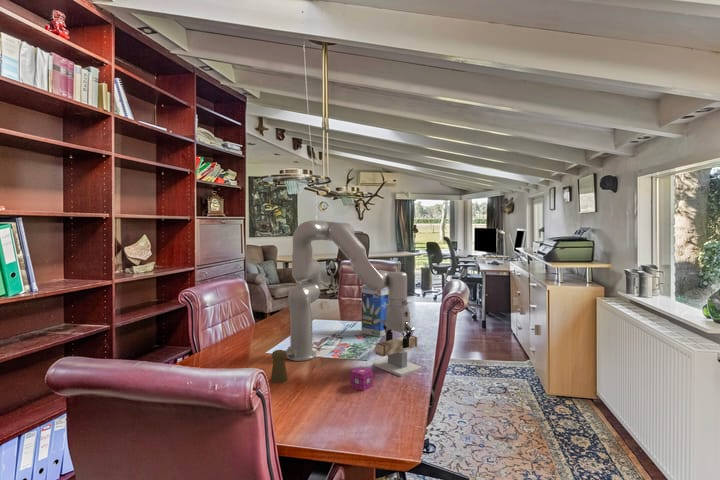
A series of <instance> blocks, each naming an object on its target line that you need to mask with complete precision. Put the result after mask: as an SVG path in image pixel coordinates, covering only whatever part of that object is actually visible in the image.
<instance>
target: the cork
mask: <svg viewBox="0 0 720 480" xmlns="http://www.w3.org/2000/svg"><path fill="white" fill-rule="evenodd" d="M286 358H287V356H286V352H285V351H284V350H283V349H276V350H273V351H272V353H271V359H272V369H271V375H270V376H271V377H270V382H271V383H273V384H282V383H283V384H284V383H285V382H288V375H287V367H286V360H285V359H286Z"/></svg>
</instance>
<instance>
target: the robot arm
mask: <svg viewBox="0 0 720 480" xmlns="http://www.w3.org/2000/svg"><path fill="white" fill-rule="evenodd" d="M355 232H356V231H355V228H354V227H353V226H352V225H351V224H350V223H348V222H338V221H337V222H336V221H335V222H334V221H326V220H307V221H304V222H302V223H300V224H299V225H298V226H297V227H296V228H295V229H294V231H293V234H292V255H291V256H292V257H291V275H292V278H293V279H294V280H295V281H297V282H300V284H297V285H295V286H293V287H292V288H291V289H290V290H289V292H288V295H287V296H288V297H287V300H288V301H287V302H288V305H289V321H290V322H289V325H290V328H289V329H290V330H289V331H290V332H289V333H290V337H289V339H290V340H289V341H290V342H289V344H290V346H288V347H287V349H286V350H284V351H285V352H286V358H287V359H288V360H290V361H293V362H294V361H296V362H302V361H303V362H304V361H305V362H306V361H310V360H313V359H314V358H315V357H316V356H317V352H316V351H314V349H313V312H312V307H311V304H312V303H314V302H316V301H317V300H318V299H319V297H320V295H321V279H322V278H321V277H322V274H321V273H322V269H321V265H320V263H319V261H317V260H316V259H315V258H313V246H312V242H313V241H332V242H333V243H334V244H335V245H336V247H337V248H338V249H339V250H340V251H341V252H342V254H343V255H344V257H346V259H348V261H349V263H350V266H351V268H352V270H353V272H355V273H354V274H356V276H357V277H358V278H359V280H360V281H361V283H363V285H366V287H368V288H369V289H370V290H372V291H380V290H381V289H383V288H388V306H387V312H386V319H384V320H383V321H382V324H383V328H384V329H385V333H386V335H385V341H389V340H393V339H394V338H393V331H394V332H397V333H401V335H402V337H404V338H403V348H408V347H409V338H410V337H411V335H413V334H414V332H415V327H413V326H412V324H411V314H410V308H409V306H408V305H409V301H408V275H407V273H406V272H404V271H389V270H384V269H382V270H381V269H378V270H377V269H376V268H375V267H374V266H373V264H372V263H371V262H370V260H369V258H368V256H367V250H366V247H365V245H364V244H363V243H362V242H361V241H360V240H359V239H358V237H357V236H356V235H355Z"/></svg>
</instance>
